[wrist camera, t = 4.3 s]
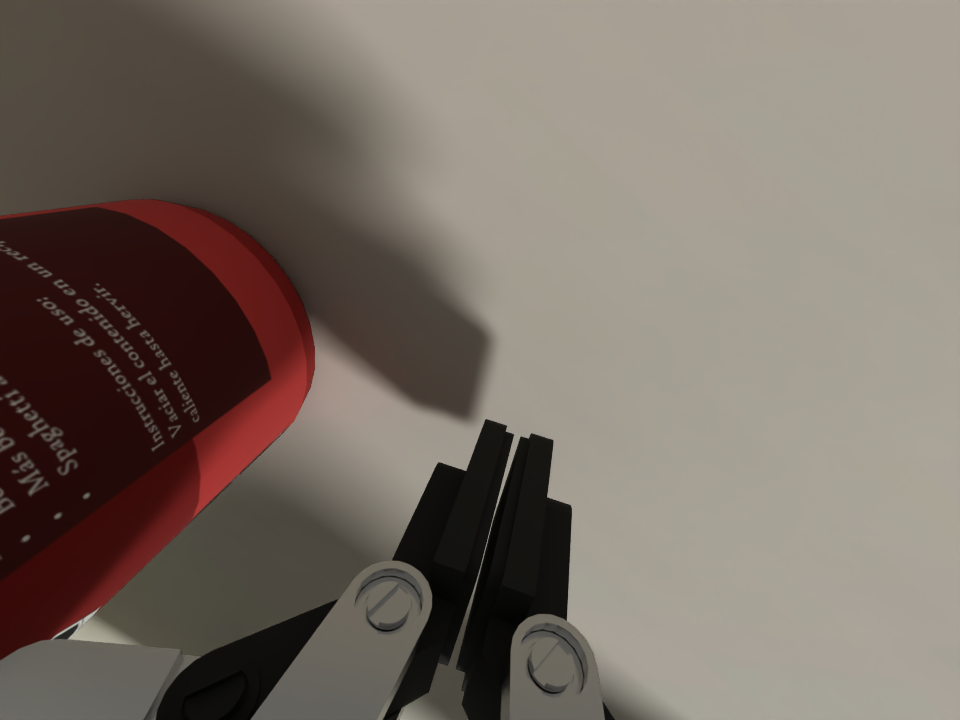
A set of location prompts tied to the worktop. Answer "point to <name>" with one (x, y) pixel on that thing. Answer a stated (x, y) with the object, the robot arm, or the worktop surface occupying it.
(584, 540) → the worktop surface
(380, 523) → the worktop surface
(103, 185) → the worktop surface
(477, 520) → the robot arm
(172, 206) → the canned food
